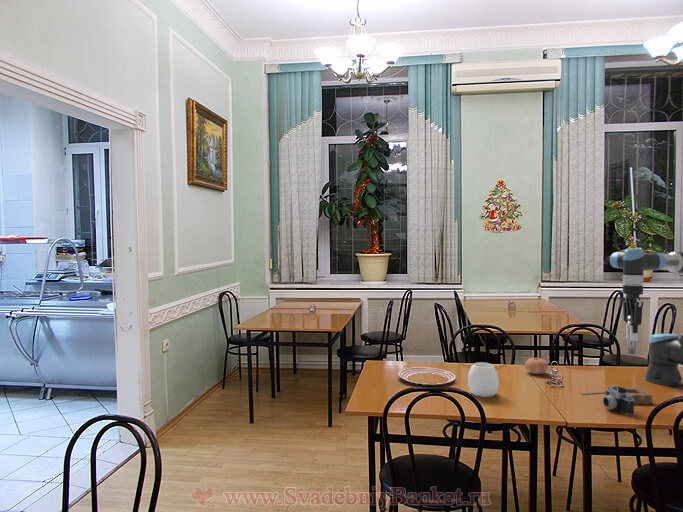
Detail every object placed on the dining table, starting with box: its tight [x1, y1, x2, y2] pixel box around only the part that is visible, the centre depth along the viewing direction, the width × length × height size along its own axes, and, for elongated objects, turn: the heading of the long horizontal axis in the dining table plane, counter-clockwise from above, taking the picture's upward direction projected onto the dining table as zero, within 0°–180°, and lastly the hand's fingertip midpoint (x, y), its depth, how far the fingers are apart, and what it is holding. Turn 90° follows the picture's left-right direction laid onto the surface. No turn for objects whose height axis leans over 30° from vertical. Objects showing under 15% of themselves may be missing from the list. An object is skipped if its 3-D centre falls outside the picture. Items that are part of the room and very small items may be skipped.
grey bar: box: [626, 315, 637, 355], centre depth 212 cm, size 3×3×16 cm
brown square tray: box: [621, 386, 653, 405], centre depth 213 cm, size 11×11×4 cm
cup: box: [467, 362, 500, 398], centre depth 221 cm, size 13×13×14 cm
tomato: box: [524, 357, 549, 375], centre depth 254 cm, size 11×11×8 cm
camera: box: [602, 385, 635, 416], centre depth 201 cm, size 16×8×10 cm, turn 4°
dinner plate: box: [398, 366, 456, 386], centre depth 244 cm, size 28×27×3 cm
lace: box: [580, 391, 606, 396], centre depth 221 cm, size 14×1×1 cm, turn 100°
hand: (631, 339), depth 212 cm, fingers closed on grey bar, 3 cm apart
